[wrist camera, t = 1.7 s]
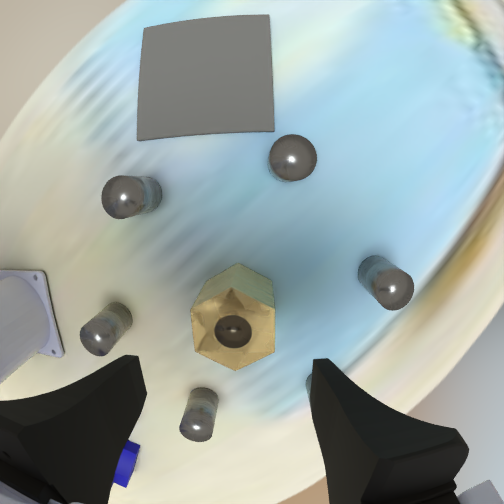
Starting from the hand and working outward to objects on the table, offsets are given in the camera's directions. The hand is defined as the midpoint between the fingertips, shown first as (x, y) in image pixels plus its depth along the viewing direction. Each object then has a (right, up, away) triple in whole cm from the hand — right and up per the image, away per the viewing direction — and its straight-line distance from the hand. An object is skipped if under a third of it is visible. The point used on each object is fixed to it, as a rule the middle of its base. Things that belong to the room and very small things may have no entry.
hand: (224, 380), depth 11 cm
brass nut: (0, +2, +9) cm, 10 cm away
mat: (-2, +17, +6) cm, 18 cm away
